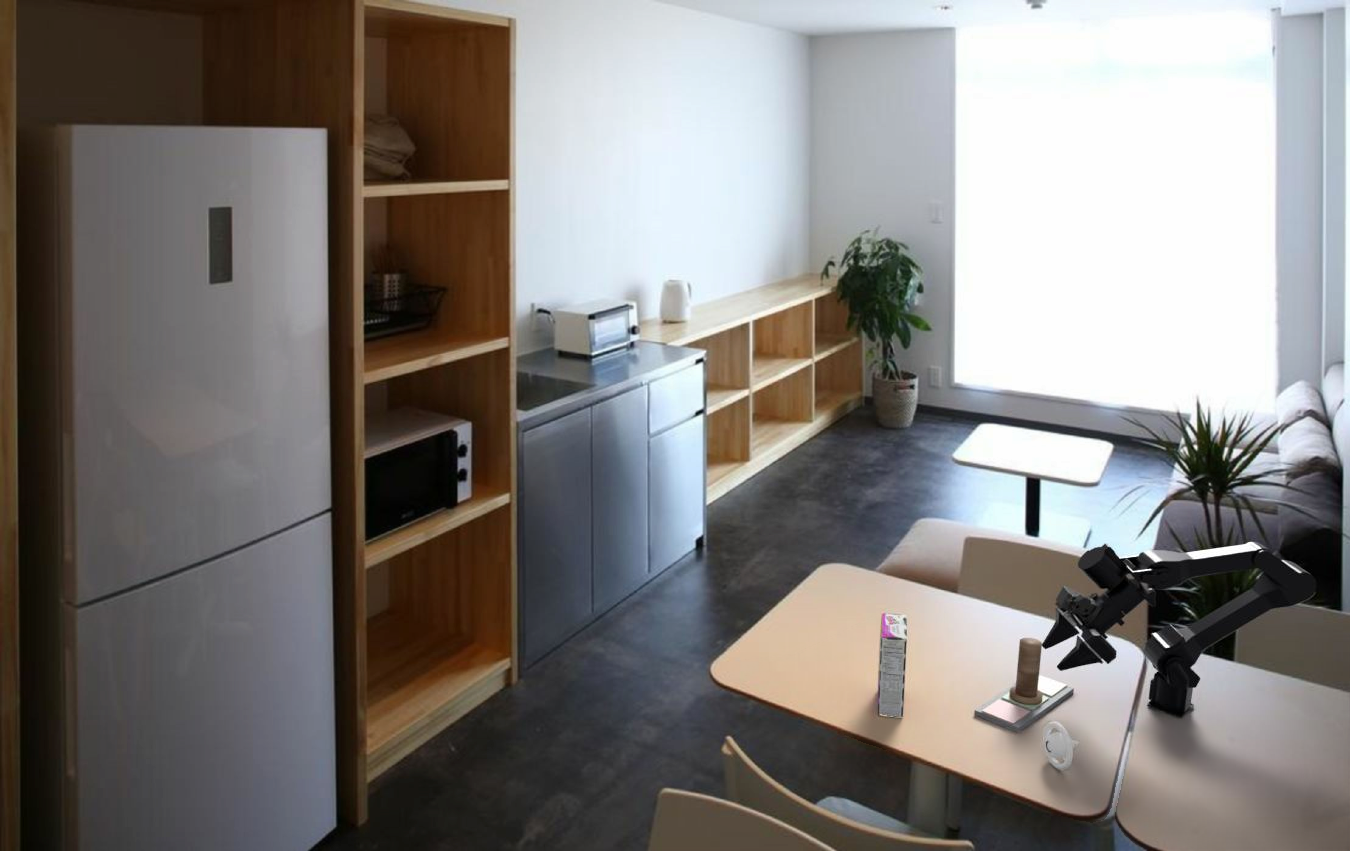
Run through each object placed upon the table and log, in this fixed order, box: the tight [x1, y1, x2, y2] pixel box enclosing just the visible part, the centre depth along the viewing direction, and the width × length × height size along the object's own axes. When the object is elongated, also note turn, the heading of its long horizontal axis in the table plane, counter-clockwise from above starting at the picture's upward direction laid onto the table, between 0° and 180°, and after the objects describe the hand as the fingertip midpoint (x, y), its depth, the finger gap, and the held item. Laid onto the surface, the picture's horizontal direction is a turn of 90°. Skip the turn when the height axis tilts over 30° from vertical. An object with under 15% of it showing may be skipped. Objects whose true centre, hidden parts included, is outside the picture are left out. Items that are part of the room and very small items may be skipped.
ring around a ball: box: [1042, 721, 1079, 771], centre depth 179 cm, size 8×6×8 cm
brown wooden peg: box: [1009, 637, 1043, 705], centre depth 200 cm, size 6×6×12 cm
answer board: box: [973, 674, 1075, 733], centre depth 201 cm, size 9×22×1 cm, turn 135°
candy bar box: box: [877, 612, 908, 718], centre depth 199 cm, size 11×5×16 cm, turn 168°
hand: (1050, 657), depth 199 cm, fingers open, 9 cm apart
